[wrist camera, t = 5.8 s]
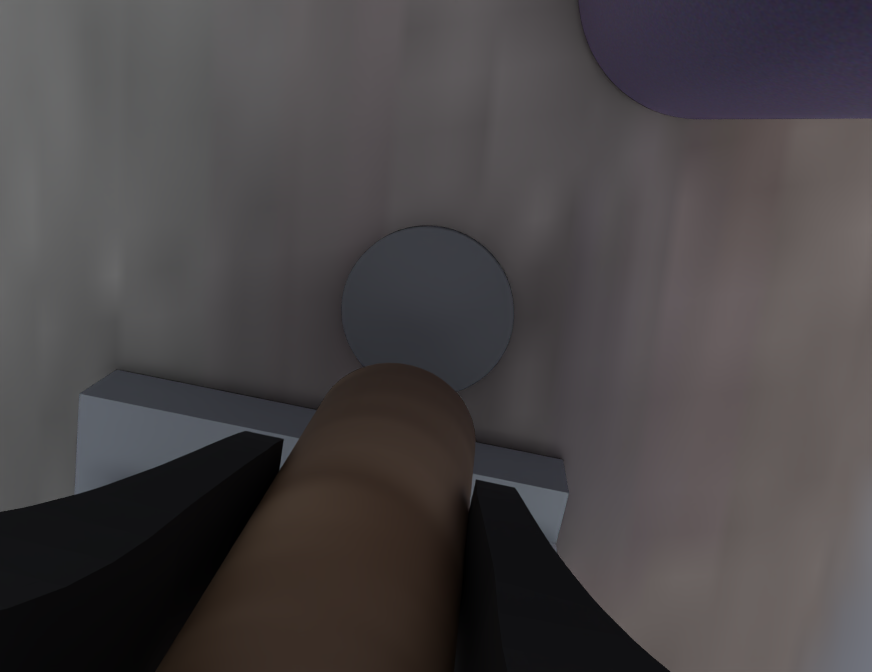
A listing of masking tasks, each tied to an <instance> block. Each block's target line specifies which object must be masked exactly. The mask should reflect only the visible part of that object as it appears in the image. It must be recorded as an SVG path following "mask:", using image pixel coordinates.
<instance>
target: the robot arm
mask: <svg viewBox="0 0 872 672" xmlns="http://www.w3.org/2000/svg"><path fill="white" fill-rule="evenodd" d="M283 442H284V439H282V438H278V437H273V436H268V435H263V434H259V433H254V432H249V431H243V432H240V433H237V434H234V435H231V436H229V437H226V438H224V439H222V440H219V441H217V442H214V443H212V444H210V445H207V446H205V447H203V448H200V449H198V450H196V451H193V452H191V453H189V454H186V455H184V456H181V457H179V458H177V459H174V460H172V461H169V462H167V463H165V464H162V465H160V466H157V467H155V468H152V469H149V470H146V471H143V472H141V473H138V474H135V475H132V476H130V477H127V478H124V479H121V480H119V481H116V482H113V483H110V484H108V485H105V486H102V487H99V488H96V489H92V490H89V491H86V492H82V493H79V494H76V495H72V496H69V497H65V498H61V499H57V500H53V501H49V502H45V503H41V504H37V505H33V506H29V507H24V508H20V509H14V510H9V511H3V512H0V672H155V671H156V669H157V668H158V666H159V665H160V663H161V661H162V660H163V658H164V656H165V655H166V653H167V652H168V650H169V648H170V647H171V645H172V644H173V642H174V640H175V639H176V637H177V635H178V634H179V632H180V631H181V629H182V627H183V626H184V624H185V623H186V621H187V619H188V618H189V616H190V614H191V613H192V611H193V610H194V608H195V606H196V605H197V603H198V601H199V600H200V598H201V597H202V595H203V593H204V592H205V590H206V589H207V587H208V585H209V584H210V582H211V580H212V579H213V577H214V576H215V574H216V572H217V571H218V569H219V568H220V566H221V564H222V563H223V561H224V559H225V558H226V556H227V555H228V553H229V551H230V550H231V548H232V546H233V545H234V543H235V542H236V540H237V538H238V537H239V535H240V534H241V532H242V530H243V529H244V527H245V525H246V524H247V522H248V521H249V519H250V517H251V516H252V514H253V512H254V511H255V509H256V508H257V506H258V504H259V503H260V501H261V500H262V498H263V496H264V495H265V493H266V491H267V490H268V488H269V487H270V485H271V483H272V482H273V480H274V479H275V477H276V475H277V474H278V472H279V470H280V463H281V456H282V449H283ZM454 672H670V671H669V670H668V669H667V668H665V667H664V666H663V665H662V664H660V663H659V662H658V661H657V660H656V659H654V658H653V657H652V656H651V655H650V654H648V653H647V652H646V651H645V650H644V649H643V648H642V647H641V646H640V645H638V644H637V643H636V642H635V641H634V640H633V639H632V638H631V637H630V636H629V635H628V634H627V633H626V632H625V631H624V630H623V629H622V628H621V627H620V626H619V625H618V624H617V623H616V622H615V621H614V620H613V619H612V618H611V617H610V616H609V615H608V614H607V613H606V612H605V611H604V610H603V609H602V608H601V607H600V606H599V605H598V604H597V602H596V601H595V600H594V599H593V598H592V597H591V596H590V595H589V593H588V592H587V591H586V590H585V588H584V587H583V586H582V585H581V584H580V582H579V581H578V580H577V579H576V577H575V576H574V575H573V574H572V573H571V571H570V570H569V569H568V567H567V566H566V565H565V563H564V562H563V561H562V559H561V558H560V557H559V555H558V554H557V553H556V551H555V550H554V548H553V547H552V545H551V544H550V542H549V541H548V540H547V538H546V536H545V535H544V533H543V532H542V530H541V529H540V527H539V525H538V524H537V522H536V521H535V519H534V517H533V516H532V514H531V512H530V511H529V509H528V507H527V506H526V504H525V503H524V501H523V499H522V498H521V496H520V494H519V493H518V491H517V490H516V488H515V487H510V486H505V485H500V484H496V483H491V482H486V481H482V480H477V479H476V481H475V486H474V490H473V495H472V499H471V504H470V508H469V513H468V524H467V534H466V544H465V557H464V571H463V582H462V593H461V603H460V614H459V624H458V635H457V645H456V656H455V666H454Z"/></svg>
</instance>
